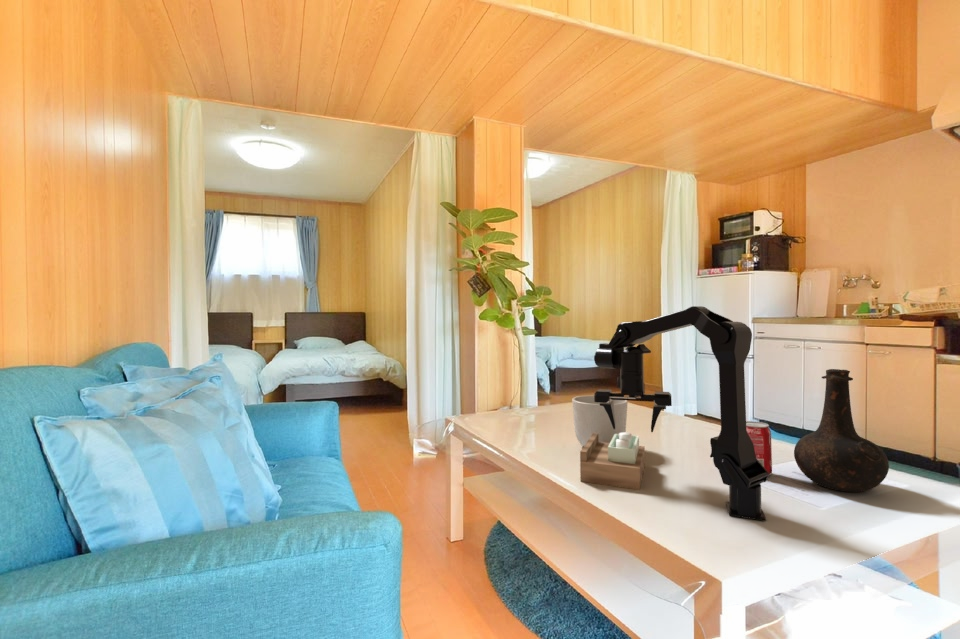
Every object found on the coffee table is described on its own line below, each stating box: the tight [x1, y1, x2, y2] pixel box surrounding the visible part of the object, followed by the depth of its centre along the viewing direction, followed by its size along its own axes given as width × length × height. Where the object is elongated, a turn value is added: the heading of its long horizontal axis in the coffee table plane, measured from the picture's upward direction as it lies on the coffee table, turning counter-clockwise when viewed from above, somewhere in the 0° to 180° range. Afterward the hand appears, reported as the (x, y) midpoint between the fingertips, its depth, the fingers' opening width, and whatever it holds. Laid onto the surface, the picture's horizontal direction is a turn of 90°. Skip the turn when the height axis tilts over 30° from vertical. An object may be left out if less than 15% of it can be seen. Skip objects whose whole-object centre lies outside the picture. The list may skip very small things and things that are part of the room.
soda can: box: [746, 420, 773, 477], centre depth 115 cm, size 7×7×13 cm
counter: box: [579, 433, 646, 490], centre depth 117 cm, size 20×14×8 cm
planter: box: [571, 394, 629, 447], centre depth 140 cm, size 17×17×15 cm
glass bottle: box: [793, 368, 890, 493], centre depth 107 cm, size 18×18×28 cm
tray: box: [608, 431, 640, 464], centre depth 116 cm, size 14×6×5 cm, turn 156°
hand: (633, 430), depth 115 cm, fingers open, 9 cm apart
